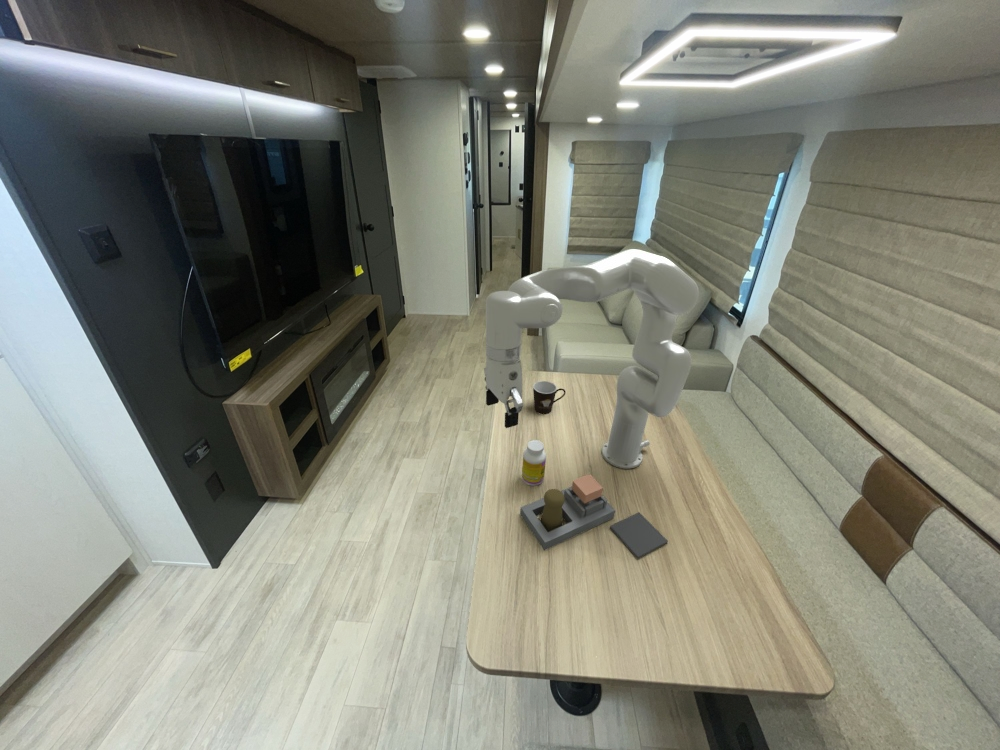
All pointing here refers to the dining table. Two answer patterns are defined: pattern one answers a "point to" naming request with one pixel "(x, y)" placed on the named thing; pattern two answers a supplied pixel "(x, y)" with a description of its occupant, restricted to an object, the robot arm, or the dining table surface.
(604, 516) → the frame
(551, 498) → the brown pawn
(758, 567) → the dining table surface
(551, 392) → the coffee mug
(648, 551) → the rubber mat
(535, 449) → the supplement bottle
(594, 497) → the salmon square block
